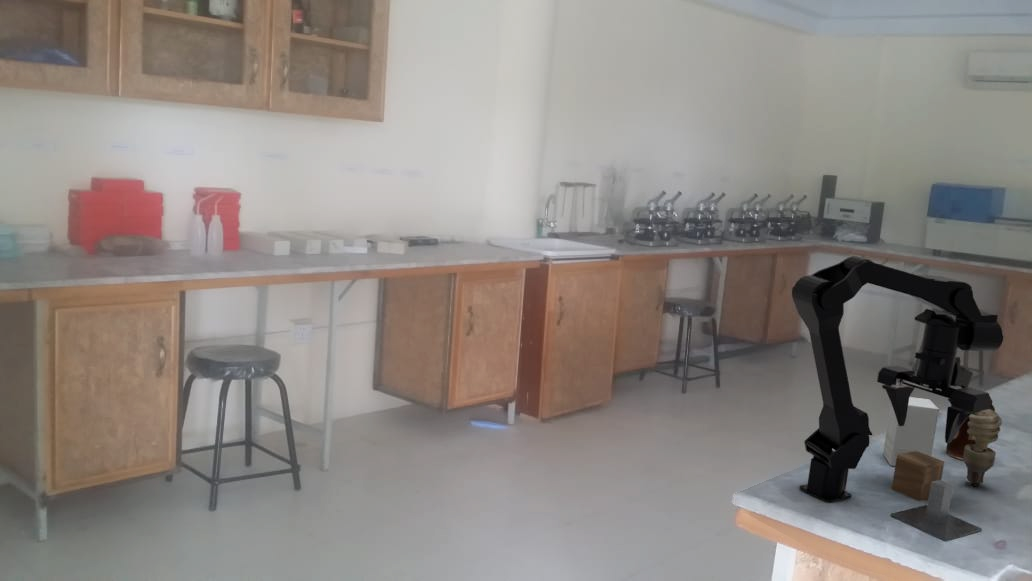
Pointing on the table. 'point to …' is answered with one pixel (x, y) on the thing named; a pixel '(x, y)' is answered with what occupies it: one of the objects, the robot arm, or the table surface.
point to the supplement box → (911, 430)
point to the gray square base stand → (937, 515)
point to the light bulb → (981, 444)
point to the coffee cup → (961, 439)
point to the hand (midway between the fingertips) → (924, 434)
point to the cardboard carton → (916, 474)
